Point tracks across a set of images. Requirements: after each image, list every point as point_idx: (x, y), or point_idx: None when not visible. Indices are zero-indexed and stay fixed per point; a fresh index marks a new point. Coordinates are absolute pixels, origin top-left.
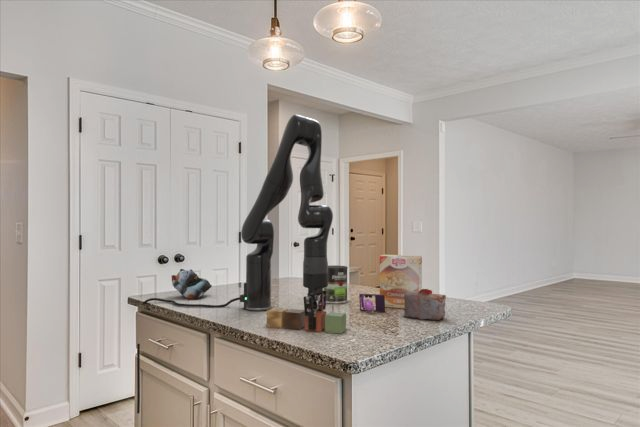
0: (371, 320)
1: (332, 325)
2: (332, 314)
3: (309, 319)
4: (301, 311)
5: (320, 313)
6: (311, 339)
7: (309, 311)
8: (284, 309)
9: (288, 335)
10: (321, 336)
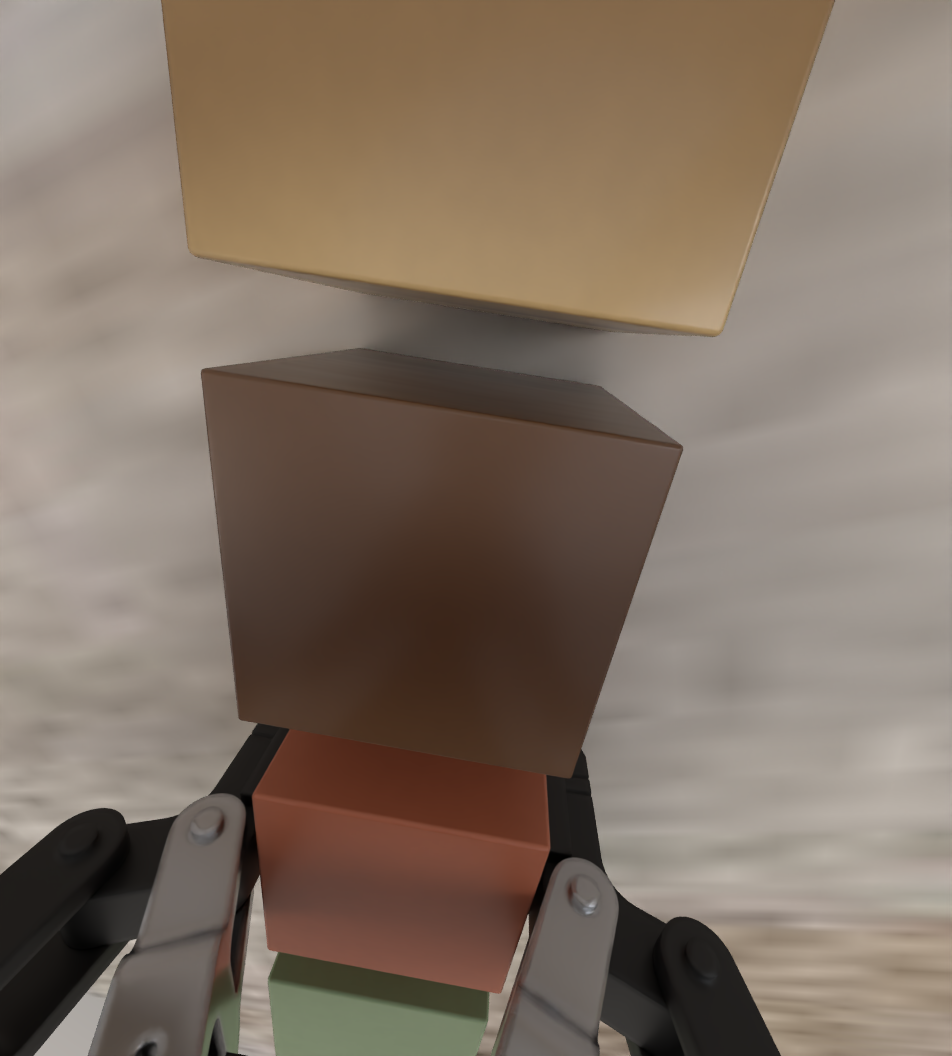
0: (832, 1019)
1: None
2: (335, 1029)
3: (221, 785)
4: (399, 729)
5: (344, 948)
6: (79, 707)
7: (187, 905)
8: (574, 239)
9: (78, 492)
10: (205, 761)
